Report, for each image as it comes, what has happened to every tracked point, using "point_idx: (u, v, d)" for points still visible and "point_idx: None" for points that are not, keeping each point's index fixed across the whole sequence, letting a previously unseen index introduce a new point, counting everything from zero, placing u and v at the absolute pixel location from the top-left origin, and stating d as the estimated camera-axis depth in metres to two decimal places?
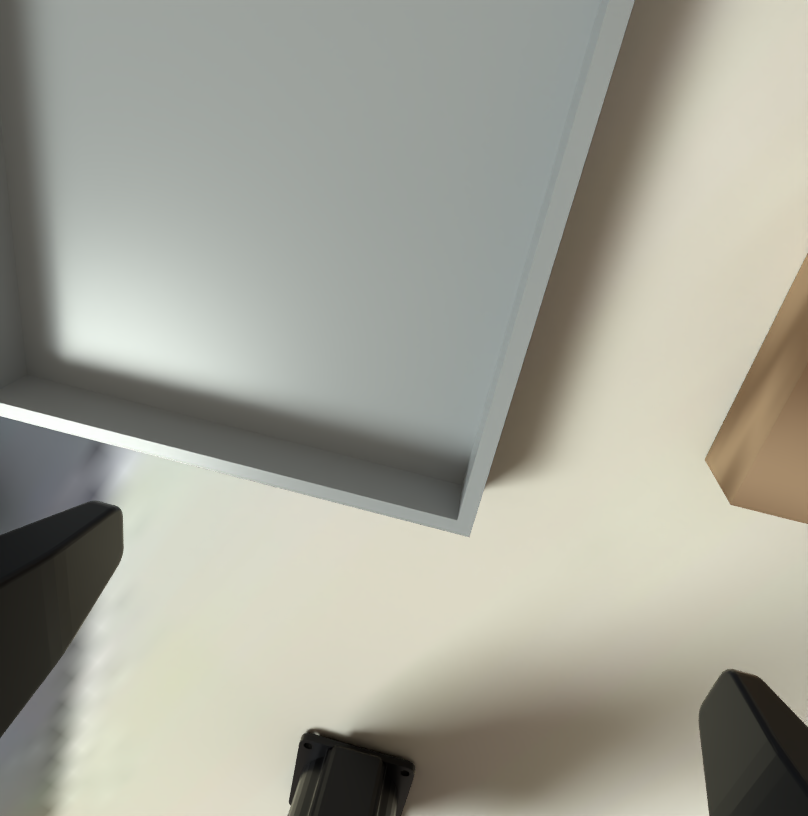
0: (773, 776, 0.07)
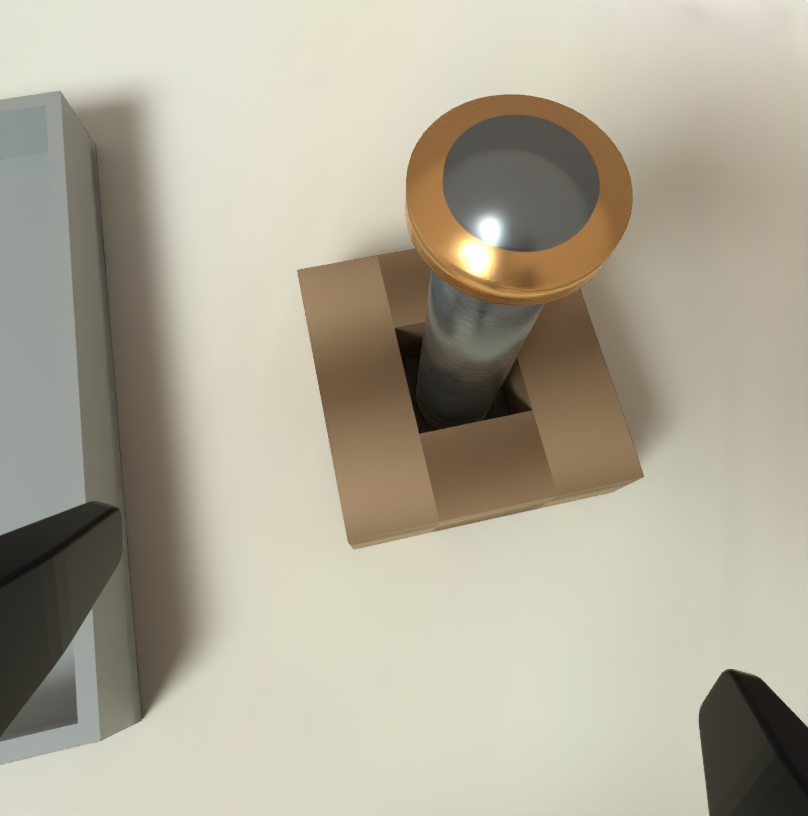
0: (773, 776, 0.07)
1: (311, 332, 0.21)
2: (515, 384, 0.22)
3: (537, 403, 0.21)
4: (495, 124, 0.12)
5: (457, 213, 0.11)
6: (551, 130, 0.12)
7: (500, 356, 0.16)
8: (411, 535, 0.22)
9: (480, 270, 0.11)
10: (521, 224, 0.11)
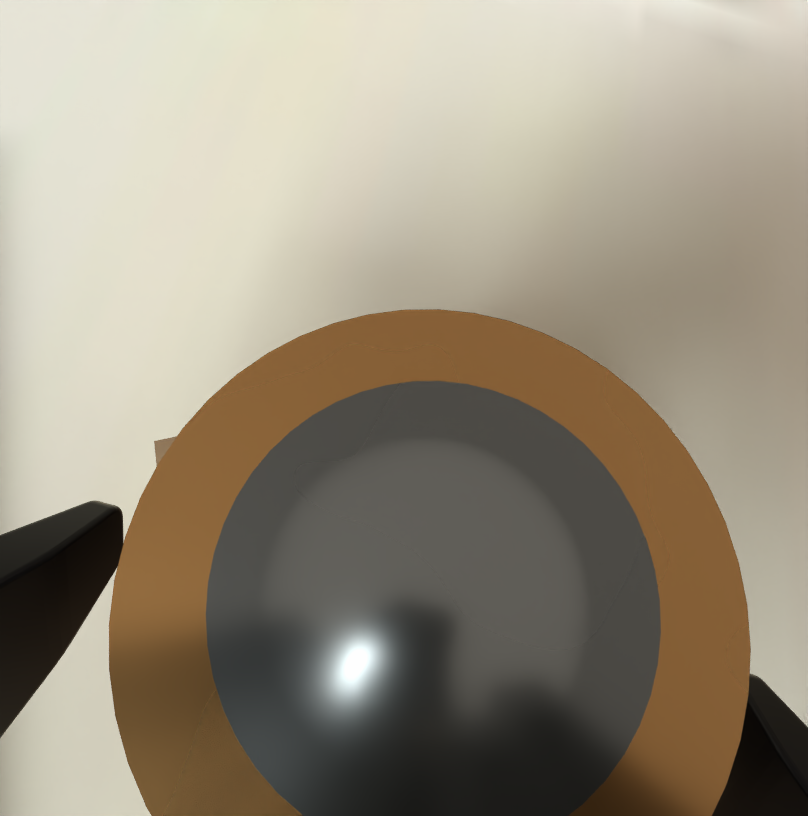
0: (773, 776, 0.07)
1: None
2: None
3: None
4: (369, 414, 0.04)
5: (235, 732, 0.04)
6: (522, 428, 0.04)
7: None
8: None
9: None
10: (428, 768, 0.04)
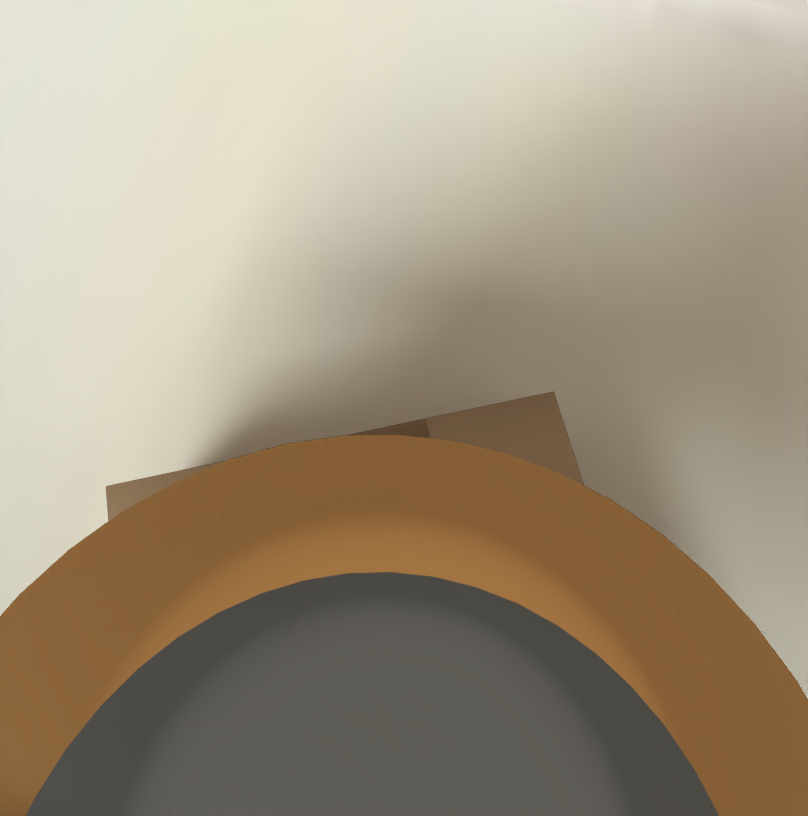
0: None
1: None
2: None
3: None
4: (271, 637, 0.03)
5: None
6: (528, 661, 0.03)
7: None
8: None
9: None
10: None
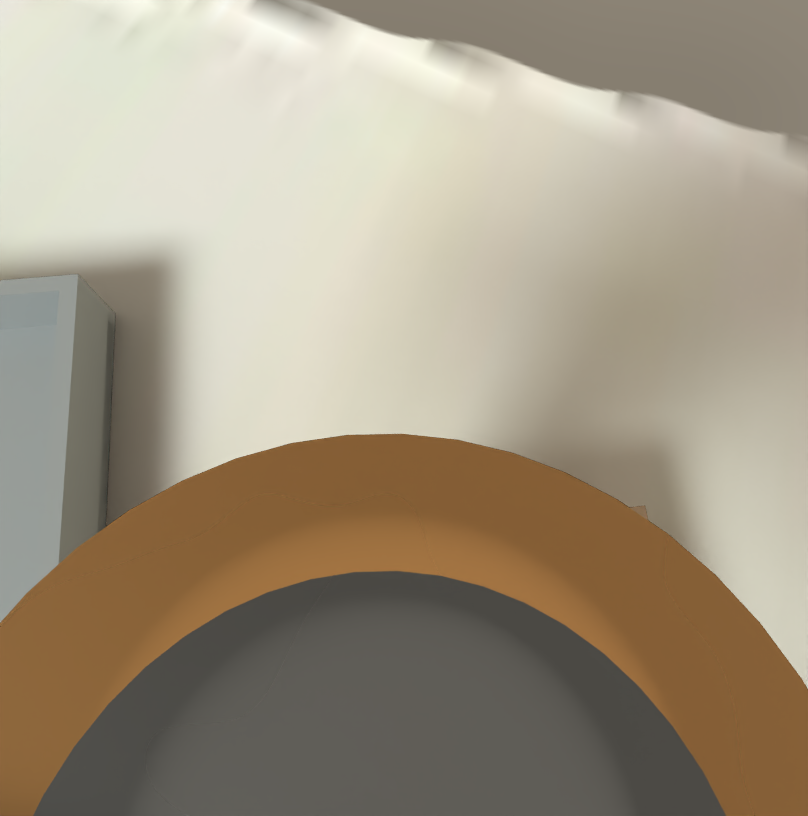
0: None
1: None
2: None
3: None
4: (278, 635, 0.03)
5: None
6: (535, 661, 0.03)
7: None
8: None
9: None
10: None
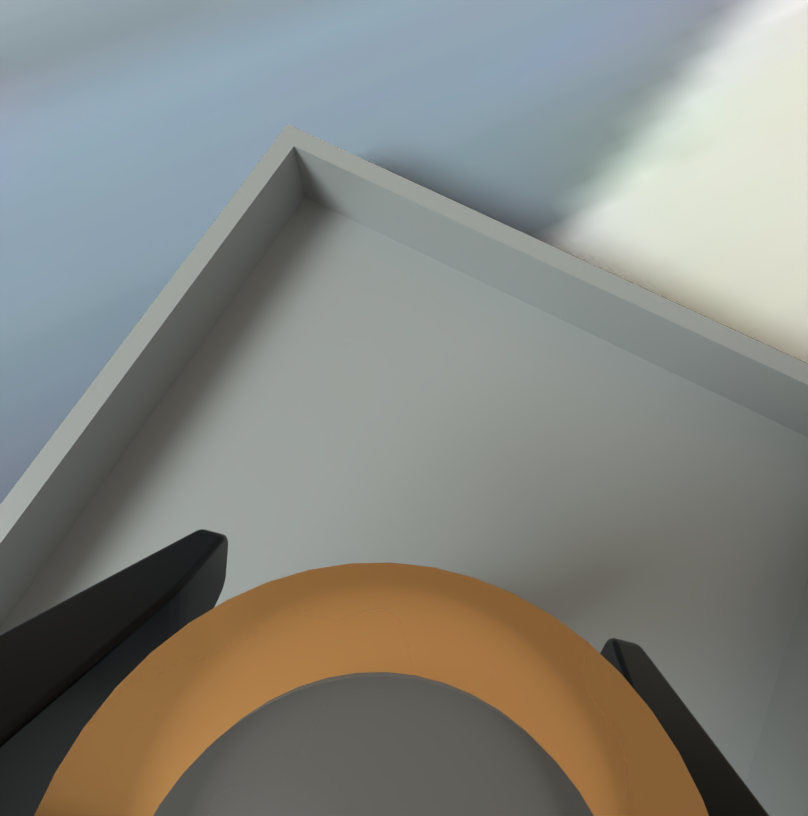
0: None
1: None
2: None
3: None
4: (300, 725, 0.04)
5: None
6: (482, 742, 0.04)
7: None
8: None
9: None
10: None
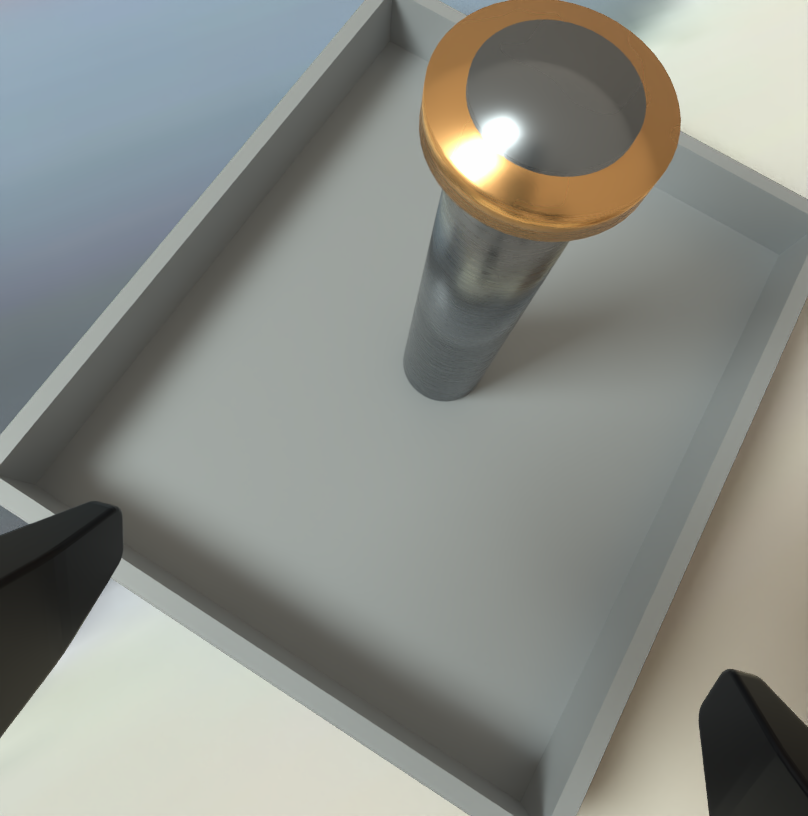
0: (773, 776, 0.07)
1: None
2: None
3: None
4: (530, 28, 0.10)
5: (482, 124, 0.10)
6: (594, 42, 0.10)
7: (505, 313, 0.15)
8: None
9: (504, 192, 0.10)
10: (555, 143, 0.10)
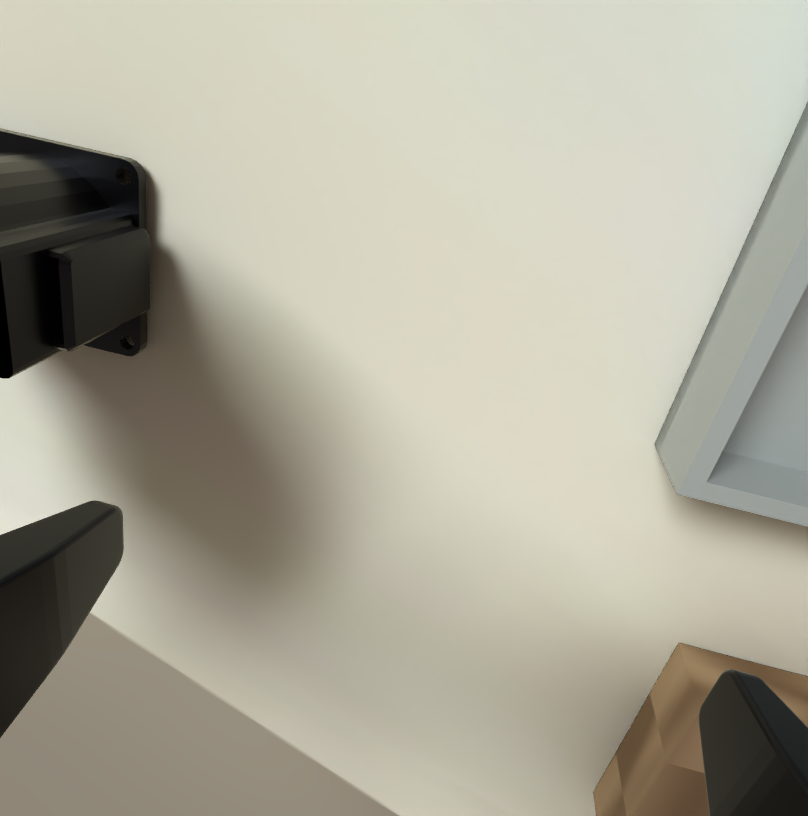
0: (773, 776, 0.07)
1: None
2: None
3: None
4: None
5: None
6: None
7: None
8: (659, 687, 0.24)
9: None
10: None
